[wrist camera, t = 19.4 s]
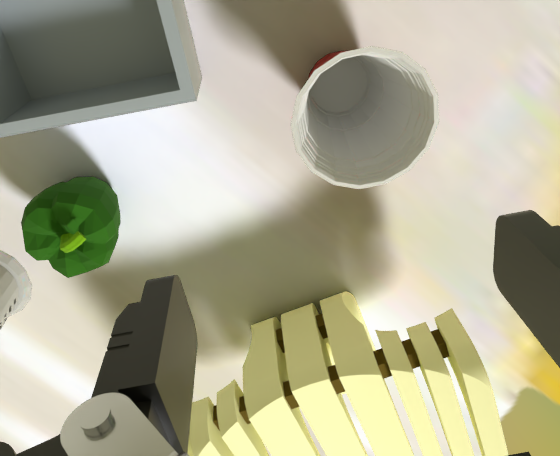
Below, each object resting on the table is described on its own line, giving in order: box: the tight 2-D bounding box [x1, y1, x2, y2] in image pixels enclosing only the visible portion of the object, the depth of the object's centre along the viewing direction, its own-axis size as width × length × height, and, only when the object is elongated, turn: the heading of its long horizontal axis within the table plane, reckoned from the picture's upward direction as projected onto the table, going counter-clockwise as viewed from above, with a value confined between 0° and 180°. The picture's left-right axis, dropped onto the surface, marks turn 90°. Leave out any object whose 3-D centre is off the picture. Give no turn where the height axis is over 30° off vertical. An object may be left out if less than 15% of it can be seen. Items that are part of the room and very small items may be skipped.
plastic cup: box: [291, 46, 439, 189], centre depth 41 cm, size 11×11×12 cm
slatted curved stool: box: [187, 291, 508, 456], centre depth 54 cm, size 30×16×18 cm, turn 111°
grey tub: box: [0, 0, 202, 138], centre depth 38 cm, size 16×16×8 cm
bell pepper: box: [21, 177, 120, 278], centre depth 46 cm, size 8×8×10 cm
